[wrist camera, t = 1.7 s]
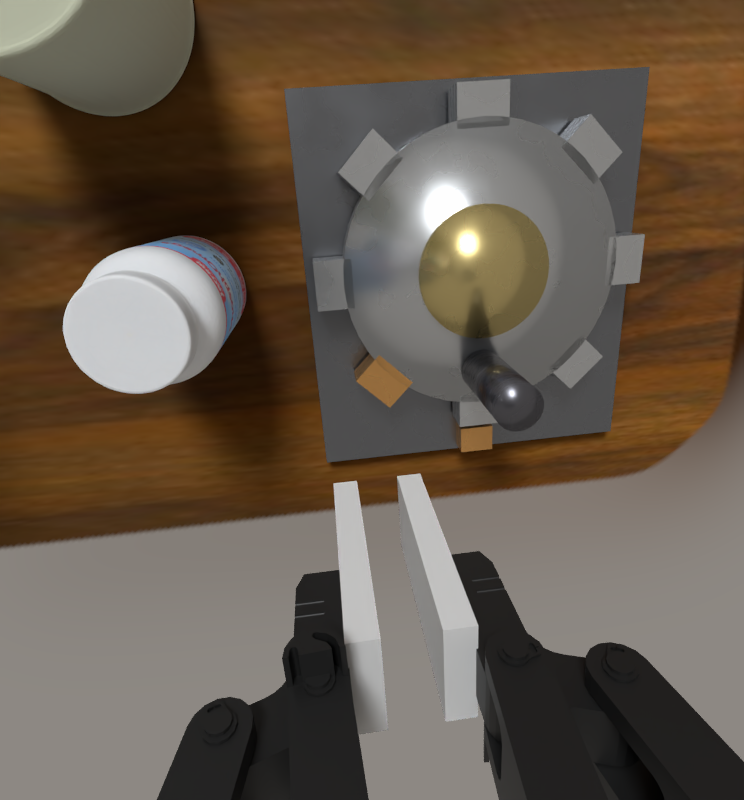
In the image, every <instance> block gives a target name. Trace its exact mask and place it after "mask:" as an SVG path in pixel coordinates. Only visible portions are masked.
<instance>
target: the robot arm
mask: <svg viewBox="0 0 744 800" xmlns="http://www.w3.org/2000/svg"><path fill="white" fill-rule="evenodd" d="M397 482H398V499H399V516H400V533H401V546H402V550H403V554H404V558H405V562H406V566H407V570H408V574H409V578H410V582H411V586H412V590H413V594H414V598H415V602H416V606H417V610H418V614H419V618H420V622H421V626H422V630H423V634H424V637H425V641H426V646H427V650H428V654H429V658H430V662H431V665H432V670H433V674H434V678H435V682H436V685H437V690H438V693H439V698H440V702H441V706H442V710H443V713H444V718H445V721H452V720H460V719H466V718H473V717H478V704H479V706H480V710H481V712H482V715H483V719H484V762H489V760H490V764H491V768H492V772H493V776H494V781H495V785H496V789H497V793H498V797H499V800H744V762H743V761H742V760H741V759H740V757H739V756H738V755H737V754H736V753H735V752H734V751H733V750H732V749H731V748H730V747H729V746H728V745H727V744H726V743H725V742H724V741H723V740H722V738H721V737H720V736H719V735H718V734H717V733H716V732H715V731H714V730H713V729H712V728H711V727H710V726H709V725H708V724H707V723H706V722H705V721H704V720H703V718H701V716H700V715H699V714H698V713H697V712H696V711H695V710H694V709H693V708H692V707H691V706H690V705H689V704H688V703H687V702H686V700H685V699H684V698H683V697H682V696H681V695H680V694H679V693H678V692H677V691H676V690H675V689H674V688H673V687H672V686H671V685H670V684H669V683H668V682H667V681H666V680H665V678H664V677H663V676H662V675H661V674H660V673H659V672H658V671H657V670H656V669H655V668H654V667H653V666H652V665H651V664H650V663H649V662H648V660H647V659H645V658H644V657H643V656H642V655H641V654H639V653H638V652H637V651H636V650H633V649H631V648H629V647H627V646H625V645H622V644H616V643H601V644H597V645H596V646H594V647H592V648H591V649H590V650H589V652H588V654H587V655H586V658H584V657H577V656H569V655H563V654H559V653H554V652H552V651H549V650H547V649H545V648H543V647H542V645H541V644H540V642H539V641H537V640H536V639H534V638H533V637H532V636H531V635H529V634H528V633H527V632H526V630H525V628H524V626H523V624H522V622H521V620H520V618H519V616H518V614H517V612H516V610H515V608H514V606H513V604H512V602H511V600H510V598H509V596H508V594H507V591H506V590H505V589H504V586H503V583H502V581H501V579H499V575H498V573H497V571H496V569H495V567H494V565H493V563H492V562H491V561H490V560H489V559H488V558H487V557H485V556H484V555H483V554H482V553H481V552H479V551H477V552H470V553H461V554H454V555H451V553H450V551H449V548H448V546H447V543H446V540H445V538H444V535H443V532H442V530H441V527H440V524H439V522H438V519H437V517H436V514H435V511H434V509H433V506H432V504H431V501H430V498H429V496H428V493H427V491H426V488H425V485H424V483H423V480H422V478H421V475H420V474H413V475H404V476H397ZM334 498H335V512H336V526H337V541H338V556H339V570H335V571H327V572H320V573H312V574H305V575H304V576H303V577H302V579H301V581H300V583H299V584H298V586H297V588H296V601H295V604H296V606H295V623H294V637H293V638H292V639H291V640H290V641H289V643H288V644H287V645H286V647H285V648H284V653H283V657H282V659H283V665H284V671H285V677H286V682H285V683H284V684H283V685H282V687H281V688H279V689H278V690H277V691H276V692H275V693H273V694H271V695H270V696H268V697H266V698H264V699H262V700H260V701H258V702H255V703H253V704H251V705H248V704H246V703H245V702H244V701H243V700H241V699H237V698H232V697H228V698H221V699H217V700H215V701H213V702H211V703H209V704H207V705H205V706H204V707H203V708H202V709H200V710H199V711H198V712H197V713H196V714H195V715H194V717H193V718H192V720H191V721H190V723H189V725H188V726H187V729H186V731H185V733H184V736H183V738H182V741H181V743H180V745H179V748H178V750H177V753H176V755H175V757H174V760H173V762H172V765H171V767H170V769H169V772H168V774H167V777H166V779H165V781H164V784H163V786H162V789H161V791H160V793H159V796H158V798H157V800H369V799H368V793H367V787H366V780H365V774H364V768H363V761H362V755H361V748H360V742H359V736H358V734H365V733H372V732H379V731H385V730H388V721H387V710H386V697H385V685H384V673H383V662H382V649H381V638H380V632H379V625H378V618H377V612H376V605H375V598H374V592H373V585H372V578H371V572H370V565H369V558H368V552H367V546H366V539H365V533H364V525H363V519H362V512H361V505H360V499H359V492H358V486H357V481H351V482H342V483H334Z"/></svg>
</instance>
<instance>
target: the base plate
mask: <svg viewBox="0 0 744 800" xmlns="http://www.w3.org/2000/svg"><path fill="white" fill-rule="evenodd" d="M648 76H649V67H641V68H625V69H608V70H591V71H575V72H558V73H542V74H525V75H508V76H492V77H475V78H458V79H442V80H425V81H409V82H392V83H375V84H359V85H342V86H326V87H309V88H292V89H284V90H285V99H286V108H287V116H288V125H289V134H290V143H291V151H292V160H293V169H294V178H295V186H296V195H297V204H298V213H299V221H300V230H301V239H302V248H303V256H304V265H305V274H306V283H307V291H308V300H309V309H310V318H311V326H312V335H313V344H314V353H315V361H316V370H317V379H318V388H319V396H320V405H321V414H322V423H323V431H324V440H325V449H326V458H327V462H336V461H345V460H354V459H363V458H372V457H381V456H390V455H399V454H408V453H417V452H426V451H435V450H444V449H453V448H459V449H460V451H461V452H468V451H477V450H486V449H492V444H498V443H507V442H516V441H525V440H534V439H543V438H552V437H561V436H570V435H579V434H588V433H597V432H606V431H610V429H611V420H612V411H613V401H614V392H615V383H616V374H617V364H618V355H619V346H620V336H621V327H622V318H623V308H624V299H625V290H626V284H619V285H611V288H610V291H609V295H608V298H607V300H606V303H605V305H604V308H603V310H602V313H601V315H600V317H599V318H598V320H597V322H596V324H595V326H594V328H593V329H592V331H591V332H590V334H589V335H588V337H587V338H586V340H587V341H588V342H589V343H590V344H591V345H592V346H593V347H594V348H595V349H596V350H597V351H598V352H599V353H600V354H601V355H602V356H603V357H602V358H601V359H600V360H599V361H598V362H597V363H596V364H595V365H594V366H593V367H592V368H591V369H590V370H589V371H588V372H587V373H586V374H585V375H584V376H583V377H582V378H581V379H580V380H579V381H578V382H577V383H576V384H575V385H574V386H573V387H572V388H571V389H570V388H569V387H567V386H566V385H565V384H563V383H562V382H561V381H559V380H558V379H557V378H556V377H555V376H553V375H552V374H550V375H549V376H548V377H546V378H545V379H543V380H542V381H540V382H538V383H536V384H534V385H533V386H534V387H535V388H536V389H537V390H538V391H539V392H540V393H541V395H542V397H543V400H544V409H543V413H542V415H541V417H540V419H539V420H538V421H537V422H536V423H535V424H534V425H533V426H532V427H530V428H528V429H526V430H523V431H517V432H514V431H509V430H506V429H504V428H503V427H501V426H500V425H499V424H498V423H492V424H483V425H474V426H464V427H460V426H459V425H458V423H457V421H456V420H455V418H454V417H453V406H452V401H447V400H442V399H438V398H433V397H430V396H428V395H425V394H422V393H419V392H417V391H415V390H413V389H411V388H409V387H408V389H407V390H406V391H405V392H404V393H403V394H402V395H401V396H400V397H399V398H398V400H397V401H396V402H395V403H394V404H393V405H392V406H391V407H388V406H387V405H386V404H385V403H383V402H382V401H381V400H379V399H378V398H377V397H376V396H374V395H373V394H372V393H370V392H369V391H368V390H367V389H365V388H364V387H363V386H361V385H360V384H359V383H358V382H356V379H355V374H354V371H355V370H356V368H357V367H358V366H359V365H360V364H361V363H362V362H363V360H364V359H365V358H366V357H367V356H368V355H369V354H370V353H369V352H368V351H367V349H366V347H365V346H364V344H363V343H362V341H361V339H360V338H359V336H358V334H357V331H356V329H355V327H354V325H353V322H352V320H351V317H350V313H349V310H348V309H342V310H331V311H320V312H318V307H317V297H316V288H315V279H314V270H313V258H322V257H334V256H342V253H343V244H344V239H345V235H346V231H347V226H348V223H349V221H350V218H351V215H352V213H353V210H354V207H355V205H356V203H357V201H358V200H359V198H360V195H359V194H358V193H357V192H355V191H354V190H353V189H352V188H351V187H350V186H349V185H348V184H347V183H346V182H345V181H344V180H343V179H341V178H340V177H339V176H338V175H337V173H338V172H339V170H340V169H341V168H342V167H343V165H344V164H345V163H346V162H347V160H348V159H349V158H350V156H351V155H352V154H353V153H354V151H355V150H356V149H357V147H358V146H359V145H360V144H361V142H362V141H363V140H364V138H365V137H366V136H367V135H368V133H369V132H370V131H371V130H372V129H374V130H375V131H376V132H377V133H378V134H379V135H380V136H381V137H382V138H383V139H384V140H385V141H386V142H387V143H388V144H389V145H390V146H391V147H392V148H393V149H394V150H395V151H396V152H398V151H399V150H400V149H401V148H402V147H404V146H405V145H407V144H409V143H410V142H412V141H413V140H415V139H416V138H418V137H420V136H421V135H423V134H425V133H427V132H429V131H431V130H433V129H436V128H438V127H440V126H442V125H444V124H448V89H449V88H450V87H452V86H453V85H454V84H455V83H457V82H467V81H484V80H500V79H510V116H509V117H511V118H517V119H523V120H526V121H529V122H532V123H535V124H538V125H541V126H543V127H544V128H546V129H548V130H550V131H552V132H554V133H556V134H558V135H559V136H560V135H561V133H562V132H563V131H564V130H565V129H566V128H567V127H568V125H569V124H570V123H571V122H572V121H573V120H574V119H575V118H579V117H582V116H585V115H589V114H592V116H593V117H594V118H595V119H596V121H597V122H598V123H599V124H600V125H601V127H602V128H603V129H604V130H605V131H606V133H607V134H608V135H609V136H610V137H611V139H612V140H613V141H614V142H615V144H616V145H617V146H618V147H619V148H620V150H621V151H622V153H621V154H620V156H619V157H618V158H617V159H616V160H615V161H614V162H613V163H612V164H611V165H610V167H609V168H608V169H607V170H606V171H605V172H604V173H603V174H602V175H601V176H600V178H599V179H600V181H601V183H602V185H603V187H604V189H605V191H606V194H607V197H608V200H609V202H610V205H611V209H612V213H613V218H614V223H615V231H616V233H622V232H630V233H632V225H633V215H634V206H635V197H636V188H637V178H638V169H639V160H640V150H641V141H642V132H643V122H644V113H645V104H646V95H647V85H648Z"/></svg>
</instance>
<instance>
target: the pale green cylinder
mask: <svg viewBox="0 0 744 800" xmlns="http://www.w3.org/2000/svg"><path fill="white" fill-rule="evenodd" d="M194 28H195V18H194V6H193V0H0V75H1V76H3V77H6V78H8V79H11V80H14V81H16V82H19V83H21V84H24V85H26V86H29V87H32V88H34V89H37V90H39V91H42V92H44V93H47V94H49V95H51V96H52V97H54V98H55V99H57V100H58V101H60V102H62V103H64V104H66V105H68V106H70V107H72V108H74V109H77V110H80V111H83V112H86V113H90V114H95V115H101V116H124V115H130V114H134V113H137V112H140V111H143V110H145V109H148V108H150V107H151V106H153V105H155V104H156V103H158V102H159V101H160V100H162V99H163V98H164V97H165V96H166V95H167V94H168V93H169V92H170V91H171V90H172V89H173V88H174V87H175V85H176V84H177V82H178V81H179V79H180V78H181V76H182V74H183V72H184V70H185V68H186V66H187V64H188V61H189V58H190V54H191V50H192V46H193V39H194Z"/></svg>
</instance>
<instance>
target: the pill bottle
mask: <svg viewBox="0 0 744 800" xmlns="http://www.w3.org/2000/svg"><path fill="white" fill-rule="evenodd" d="M245 303H246V286H245V281H244V278H243V275H242V272H241V270H240V268H239V266H238V265H237V263H236V262H235V260H234V259H233V258H232V257H231V256H230V254H229V253H227V252H226V251H225V250H224V249H223V248H221V247H220V246H219V245H217V244H215V243H213V242H212V241H209V240H207V239H204V238H201V237H197V236H188V235H184V236H174V237H170V238H166V239H162V240H159V241H155V242H151V243H147V244H143V245H139V246H135V247H131V248H127V249H124V250H121V251H118V252H116V253H114V254H112V255H110V256H108V257H106V258H105V259H103V260H102V261H101V262H100V263H98V264H97V265H96V266H95V267H94V268H93V269H92V271H91V272H90V273H89V275H88V276H87V278H86V279H85V281H84V283H83V285H82V287H81V288H80V289H79V290H78V291H77V292H76V293H75V294H74V295H73V297H72V298H71V300H70V302H69V303H68V306H67V308H66V310H65V314H64V320H63V333H64V338H65V342H66V346H67V348H68V350H69V352H70V354H71V356H72V358H73V360H74V361H75V362H76V364H77V365H78V366H79V368H80V369H81V370H82V371H83V372H84V373H85V374H87V375H88V376H89V377H90V378H92V379H93V380H94V381H96V382H97V383H99V384H101V385H103V386H105V387H107V388H109V389H112V390H115V391H119V392H124V393H132V394H142V393H149V392H154V391H157V390H160V389H162V388H164V387H166V386H168V385H170V384H175V383H179V382H182V381H185V380H188V379H190V378H192V377H193V376H195V375H197V374H198V373H200V372H201V371H202V370H204V369H205V368H206V367H207V366H208V365H209V364H210V362H211V361H212V360H213V359H214V358H215V356H216V355H217V353H218V352H219V350H220V349H221V347H222V346H223V344H224V342H225V341H226V339H227V338H228V336H229V335H230V333H231V332H232V330H233V329H234V327H235V326H236V324H237V322H238V321H239V319H240V317H241V315H242V313H243V310H244V307H245Z"/></svg>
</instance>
